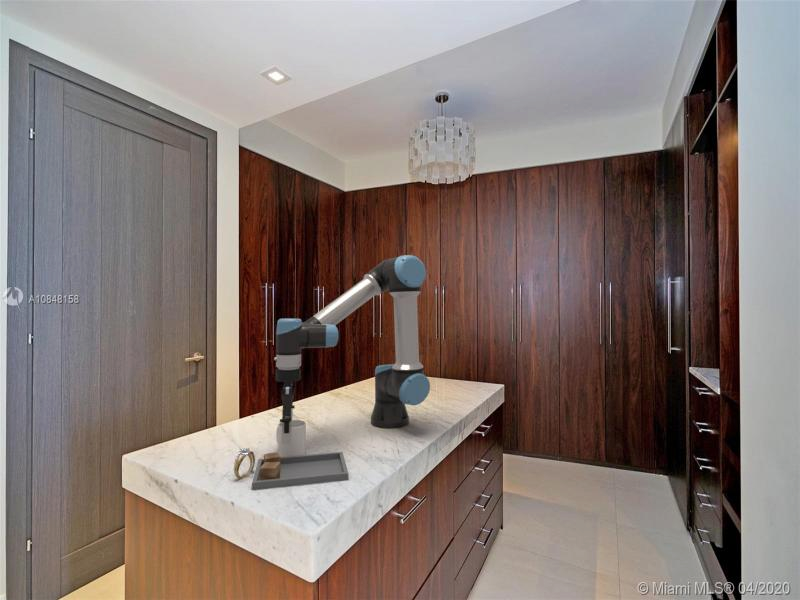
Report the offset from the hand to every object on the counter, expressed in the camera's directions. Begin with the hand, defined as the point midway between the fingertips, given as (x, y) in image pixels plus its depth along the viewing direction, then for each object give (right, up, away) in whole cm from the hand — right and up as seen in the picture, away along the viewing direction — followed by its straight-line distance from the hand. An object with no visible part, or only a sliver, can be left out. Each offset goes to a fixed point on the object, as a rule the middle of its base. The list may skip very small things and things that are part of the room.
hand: (287, 436), depth 125 cm
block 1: (-1, -5, -13) cm, 14 cm away
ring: (-7, -6, -17) cm, 19 cm away
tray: (+8, -6, -14) cm, 18 cm away
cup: (0, -6, 0) cm, 6 cm away
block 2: (+1, -5, -20) cm, 20 cm away
